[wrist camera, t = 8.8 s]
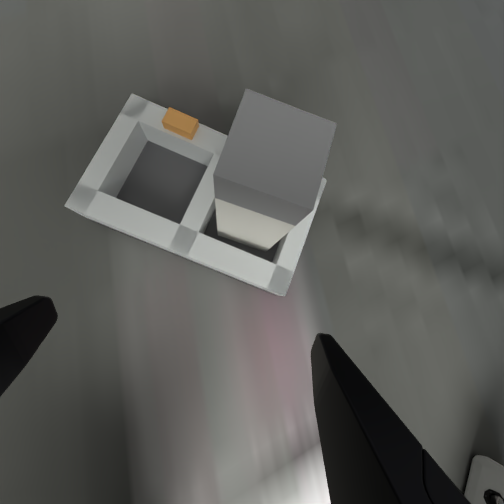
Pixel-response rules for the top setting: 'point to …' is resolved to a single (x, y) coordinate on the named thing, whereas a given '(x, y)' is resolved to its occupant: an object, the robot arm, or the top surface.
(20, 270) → the top surface
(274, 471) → the top surface
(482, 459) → the electrical switch
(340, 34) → the top surface
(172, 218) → the white rectangular frame
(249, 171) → the grey tall block
